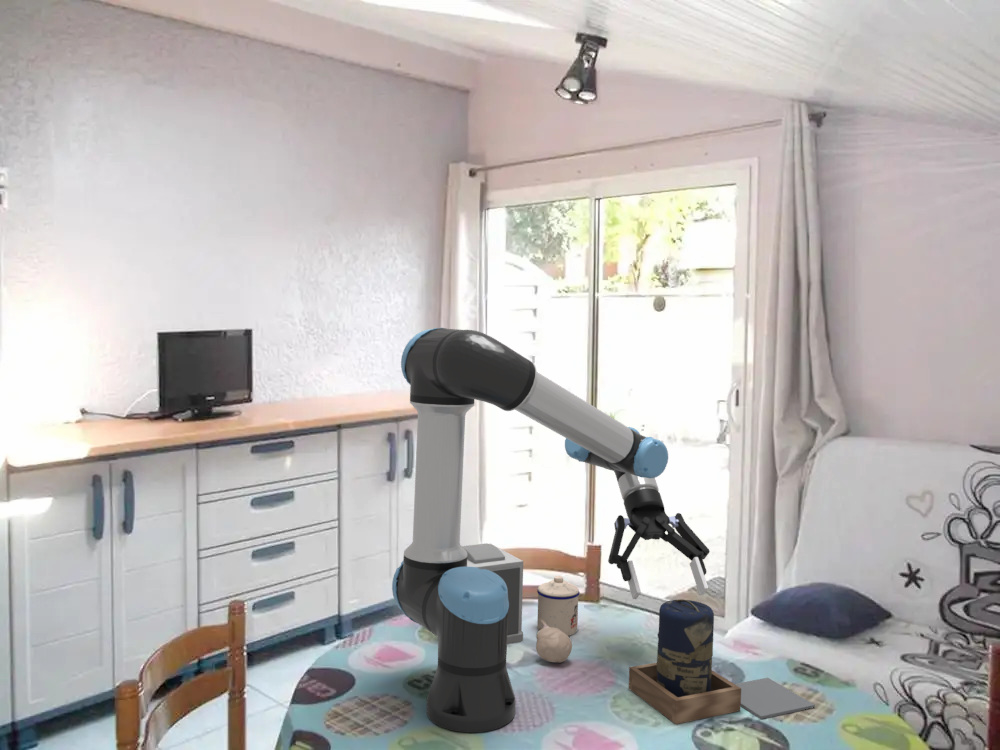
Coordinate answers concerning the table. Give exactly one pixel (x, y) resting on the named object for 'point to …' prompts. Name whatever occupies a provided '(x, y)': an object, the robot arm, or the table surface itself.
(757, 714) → the mat
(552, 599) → the teacup with lid
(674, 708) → the holder
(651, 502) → the robot arm
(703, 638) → the canister
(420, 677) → the table surface
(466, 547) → the alarm clock
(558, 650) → the garlic bulb
